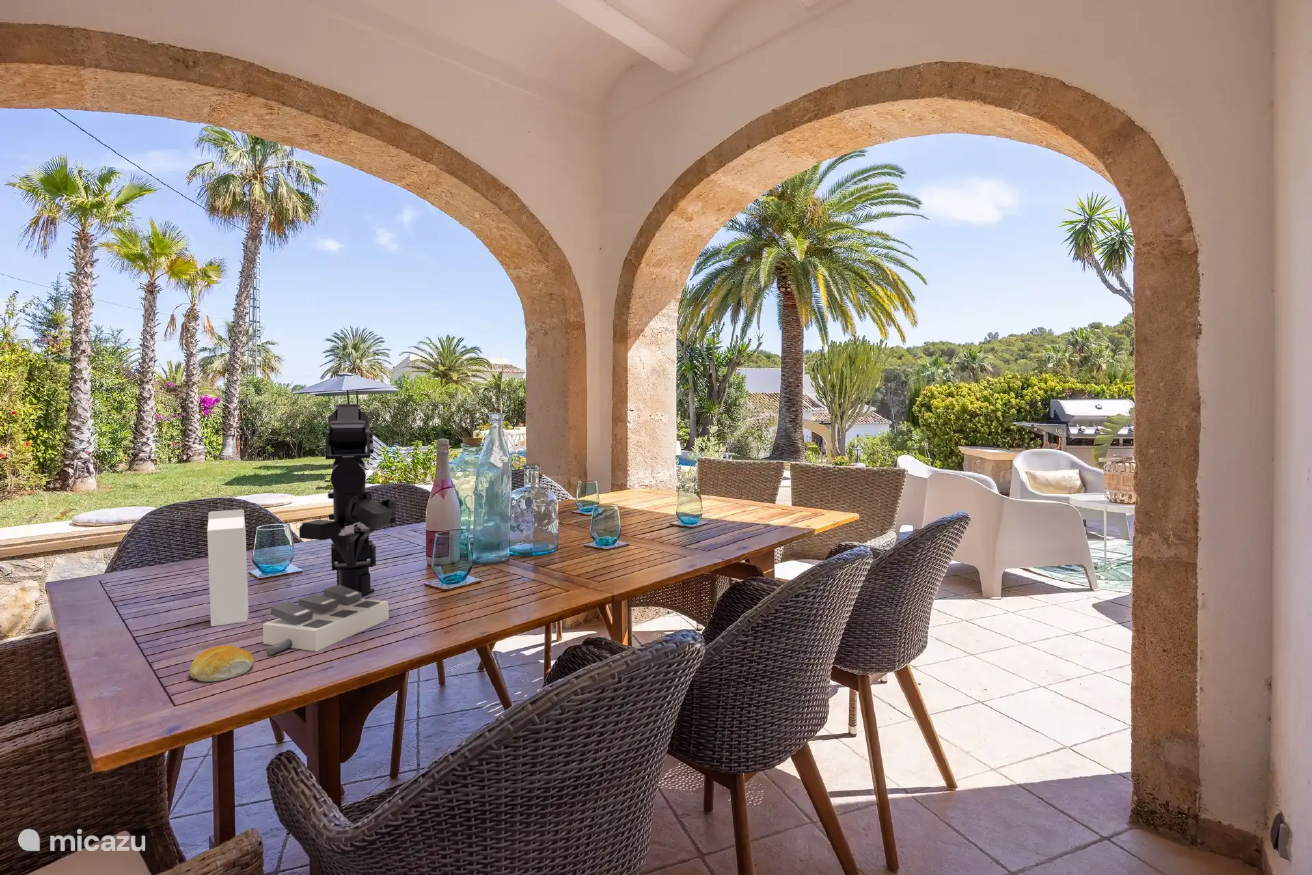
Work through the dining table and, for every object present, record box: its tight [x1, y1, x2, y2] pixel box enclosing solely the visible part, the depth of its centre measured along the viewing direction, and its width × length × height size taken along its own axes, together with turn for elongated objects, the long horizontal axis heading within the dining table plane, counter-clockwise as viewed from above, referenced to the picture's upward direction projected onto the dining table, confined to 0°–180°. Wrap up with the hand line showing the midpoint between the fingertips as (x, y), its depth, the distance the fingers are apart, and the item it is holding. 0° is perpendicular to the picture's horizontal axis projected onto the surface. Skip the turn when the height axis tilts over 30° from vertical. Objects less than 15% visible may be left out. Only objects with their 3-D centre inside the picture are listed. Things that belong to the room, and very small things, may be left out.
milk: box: [206, 509, 249, 627], centre depth 130 cm, size 6×6×22 cm
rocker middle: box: [297, 593, 338, 613], centre depth 125 cm, size 6×4×2 cm, turn 72°
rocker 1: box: [270, 601, 313, 624], centre depth 119 cm, size 6×4×2 cm, turn 72°
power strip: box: [262, 597, 390, 656], centre depth 122 cm, size 12×22×4 cm, turn 162°
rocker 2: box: [322, 584, 363, 605], centre depth 130 cm, size 6×4×2 cm, turn 72°
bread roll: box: [188, 644, 255, 683], centre depth 106 cm, size 8×9×4 cm
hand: (351, 566), depth 127 cm, fingers closed
